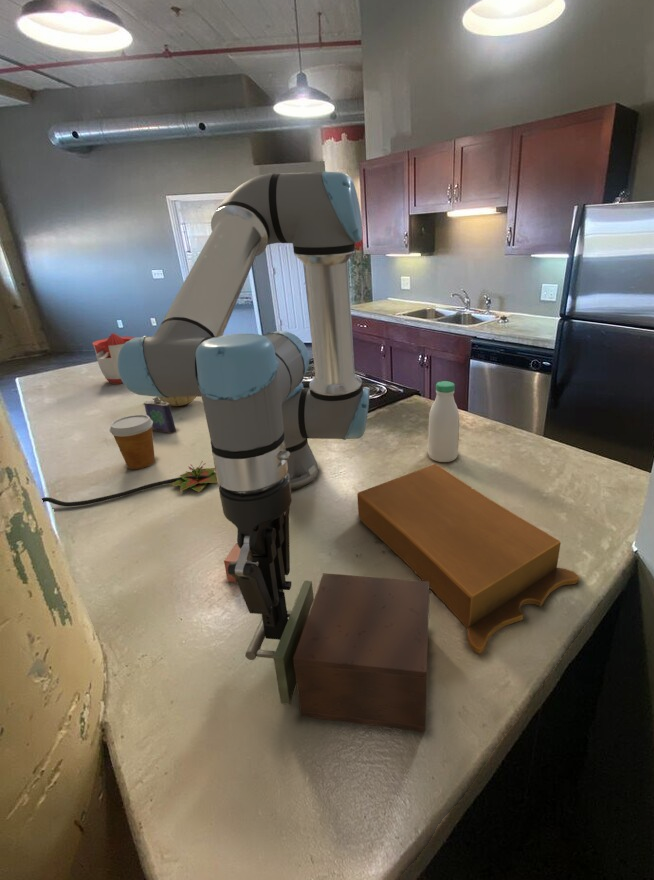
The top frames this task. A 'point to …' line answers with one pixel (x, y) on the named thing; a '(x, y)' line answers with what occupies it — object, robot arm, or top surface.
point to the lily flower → (196, 483)
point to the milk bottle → (443, 424)
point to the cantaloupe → (177, 400)
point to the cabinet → (365, 652)
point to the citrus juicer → (110, 356)
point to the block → (231, 558)
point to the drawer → (285, 643)
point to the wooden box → (465, 548)
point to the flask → (160, 415)
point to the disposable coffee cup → (134, 440)
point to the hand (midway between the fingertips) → (277, 634)
